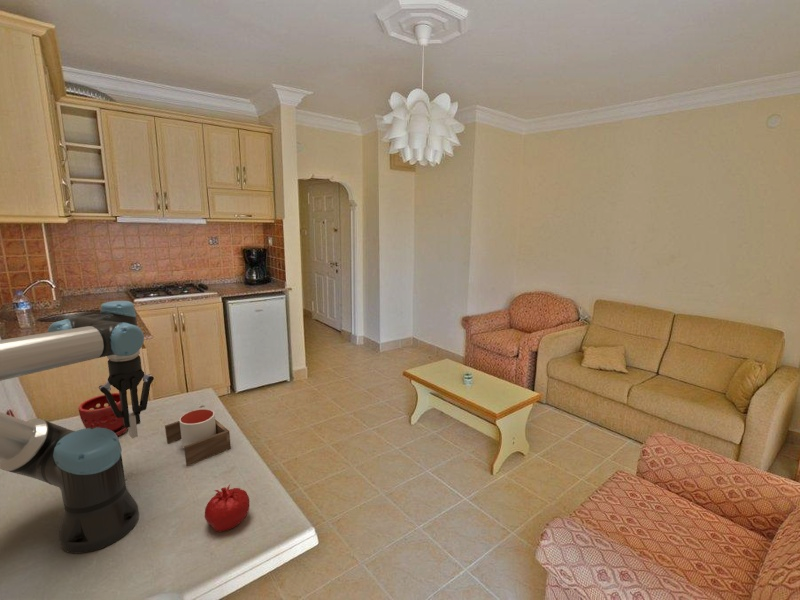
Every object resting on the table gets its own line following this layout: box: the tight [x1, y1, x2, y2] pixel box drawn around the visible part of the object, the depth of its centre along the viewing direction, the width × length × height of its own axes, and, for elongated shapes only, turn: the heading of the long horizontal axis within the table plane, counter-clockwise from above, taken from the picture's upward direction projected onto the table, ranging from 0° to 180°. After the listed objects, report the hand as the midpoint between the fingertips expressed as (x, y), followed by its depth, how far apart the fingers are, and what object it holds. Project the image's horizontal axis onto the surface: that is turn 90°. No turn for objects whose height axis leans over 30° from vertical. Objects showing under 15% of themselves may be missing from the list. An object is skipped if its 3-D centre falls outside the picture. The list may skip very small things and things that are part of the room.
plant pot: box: [77, 392, 129, 437], centre depth 136 cm, size 13×13×12 cm
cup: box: [178, 408, 216, 449], centre depth 130 cm, size 10×10×10 cm
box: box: [164, 418, 232, 467], centre depth 130 cm, size 18×13×6 cm
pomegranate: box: [204, 484, 251, 532], centre depth 98 cm, size 10×10×9 cm
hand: (133, 435), depth 117 cm, fingers closed
